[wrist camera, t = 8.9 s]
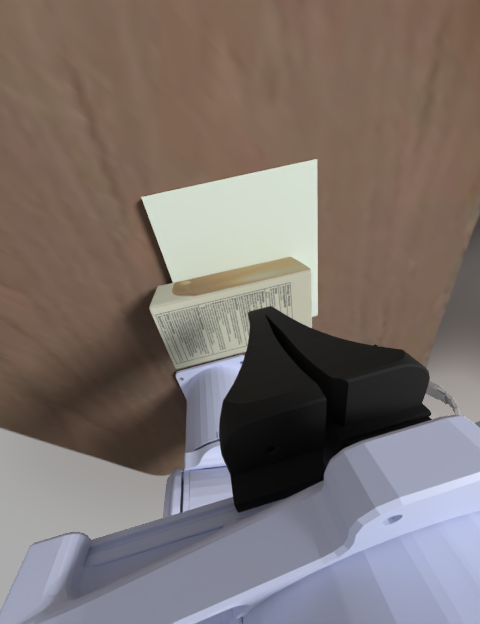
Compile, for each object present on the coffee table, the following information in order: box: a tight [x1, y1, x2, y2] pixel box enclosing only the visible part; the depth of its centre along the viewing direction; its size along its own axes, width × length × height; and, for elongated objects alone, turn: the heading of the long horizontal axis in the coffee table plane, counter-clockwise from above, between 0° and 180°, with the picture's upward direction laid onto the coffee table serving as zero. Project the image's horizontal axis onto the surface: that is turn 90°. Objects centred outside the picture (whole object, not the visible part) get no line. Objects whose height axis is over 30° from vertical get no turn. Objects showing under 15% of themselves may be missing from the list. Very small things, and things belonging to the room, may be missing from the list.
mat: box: [141, 159, 318, 317], centre depth 20 cm, size 14×13×1 cm
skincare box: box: [149, 257, 312, 369], centre depth 19 cm, size 6×4×12 cm
